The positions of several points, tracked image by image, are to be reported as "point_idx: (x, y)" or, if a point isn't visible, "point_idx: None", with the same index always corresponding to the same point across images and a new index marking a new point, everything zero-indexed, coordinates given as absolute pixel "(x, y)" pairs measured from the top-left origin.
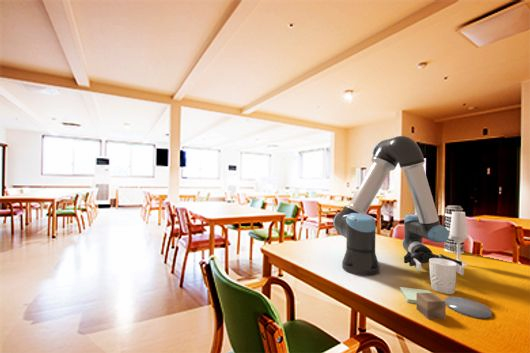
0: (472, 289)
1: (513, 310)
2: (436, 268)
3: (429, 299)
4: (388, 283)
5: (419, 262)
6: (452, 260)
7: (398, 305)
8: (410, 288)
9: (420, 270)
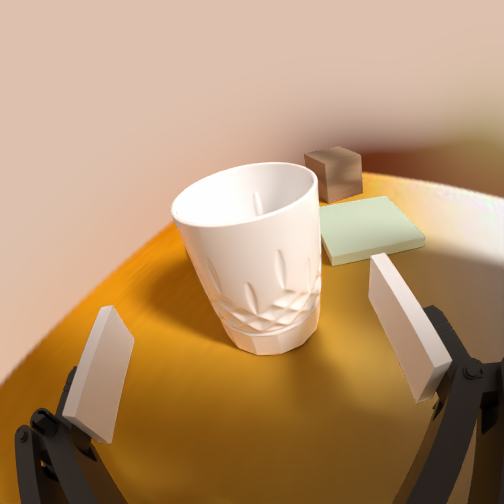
0: (129, 374)
1: (125, 274)
2: (290, 189)
3: (334, 149)
4: (473, 269)
5: (384, 274)
6: (52, 458)
7: (398, 190)
8: (394, 241)
9: (371, 295)
